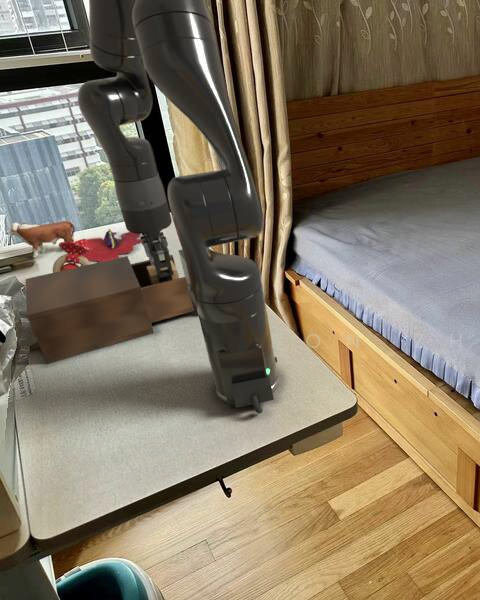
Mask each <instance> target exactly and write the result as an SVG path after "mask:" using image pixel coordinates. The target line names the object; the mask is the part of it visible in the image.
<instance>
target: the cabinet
mask: <svg viewBox="0 0 480 600" xmlns="http://www.w3.org/2000/svg"><path fill="white" fill-rule="evenodd" d="M131 264H132V263H131V261H130V258H129V257H128V255H125V256H120V257H119V258H116V259H112V260H107V261H103V262H93V263H91V264H90V265H85V266H81V265H80V266H81V267H76V268H72V269H68V270H63V271H59V272H54V273H53V272H51V273H46V274H42V275H37V276H33V277H28V278H25V312H26V315H25V316H26V318H27V320H28V322H29V325H30V327H31V330H32V332H33V334H34V337H35V339H36V341H37V344H38V346H39V349H40V350H41V353H42V355H43V358H44V359H45V362H46V364H51V363H54V362H58V361H61V360H65V359H68V358H71V357H75V356H80V355H82V354H86V353H90V352H93V351H96V350H99V349H103V348H106V347H110V346H112V345H113V346H114V345H116V344H120V343H124V342H126V341H130V340H134V339H137V338H140V337H144V336H147V335H151V334H154V333H155V330H154V328H153V324H152V323H151V321H150V317H149V314H148V311H147V307H146V304H145V301H144V297H143V294H142V291H141V287H140V285H139V283H138V280H137V278H136V275H135V273H134V271H133V268H132V266H131Z"/></svg>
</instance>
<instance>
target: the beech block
mask: <svg viewBox="0 0 480 600" xmlns="http://www.w3.org/2000/svg"><path fill="white" fill-rule="evenodd" d="M170 262H171V266H172V270H173V272H174V273H173V275H172V279H173V280H174V279H178V278H180V275H179V272H178V269H177V266H176V264H175V265H174V264H173V262H172V261H170ZM175 266H176V267H175ZM165 269H167V267H165V268H161V269H160V271H161V270H165ZM147 271H148V274H149V278H150V281H151V284H152V285H154V284H158V283H160V282H159V278H158V276H156V274H157V273H156V270H155V267H154V266H153V265H152V266H147Z"/></svg>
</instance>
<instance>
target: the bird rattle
mask: <svg viewBox="0 0 480 600" xmlns="http://www.w3.org/2000/svg"><path fill="white" fill-rule="evenodd" d="M86 240H87V239H86V238H82V239H78V240H74V241H68V242H64V241H60V242H59V243H58V247H59V248H60V249H61V248H62V249H63V250H62V249H61V250H62V251H64V252H66V254H65V253H64V254H63V255H61V256H59V257H57V259H56V260H55V261H54V262H53V265H52V273H54V272H59V271H63V270H68V269H72V268H76V267H81V266H85V265H90V264H92V262H91V261H90V260H88V259H87V258H85V257H84V256H82V254H86V253H89V252H90V250H89V248H88V247H87V243H86Z"/></svg>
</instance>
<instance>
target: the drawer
mask: <svg viewBox="0 0 480 600" xmlns="http://www.w3.org/2000/svg"><path fill="white" fill-rule="evenodd" d="M177 251H178V255H179V258H180V263H181V266H182V270H183V276H182V277H179V278H178V279H174V280H170V281H166V282H162V283H158V284H154V285H152V284H151V281H150V278H149V274H148V271H147V266H152V265H151V264H150V261H149V259H148V260H143V261H139V262H134V263H131V266H132V268H133V271H134V273H135V275H136V278H137V280H138V283H139V285H140V287H141V291H142V294H143V297H144V301H145V304H146V307H147V311H148V314H149V317H150V321H151V324H152V323H156V322H160V321H164V320H166V319H171V318H174V317H177V316H180V315H185V314H188V313H191V312H194V311H195V308H194V304H193V301H192V295H191V294H193V291H192V287H191V282H190V277H189V273H188V269H187V265H186V261H185V257H184V254H183V250H182V249H178V250H177ZM170 258H171V261H172V262H173V264H174V265H175V267H176V268H177V266H176V263H175V259H174V255H173V254H170Z"/></svg>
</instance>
